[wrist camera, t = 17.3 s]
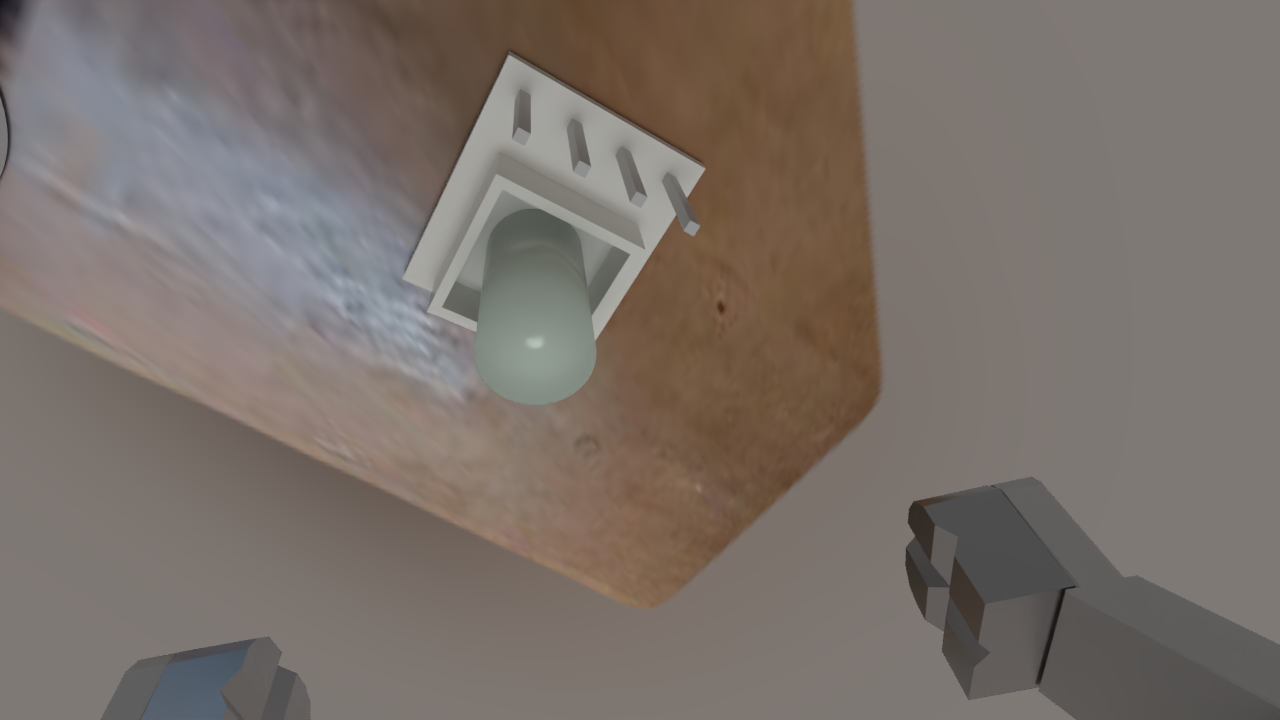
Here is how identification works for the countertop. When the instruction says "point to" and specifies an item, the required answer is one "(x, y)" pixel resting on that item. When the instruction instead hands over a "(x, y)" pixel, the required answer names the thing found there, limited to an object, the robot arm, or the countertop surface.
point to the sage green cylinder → (534, 311)
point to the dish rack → (552, 191)
